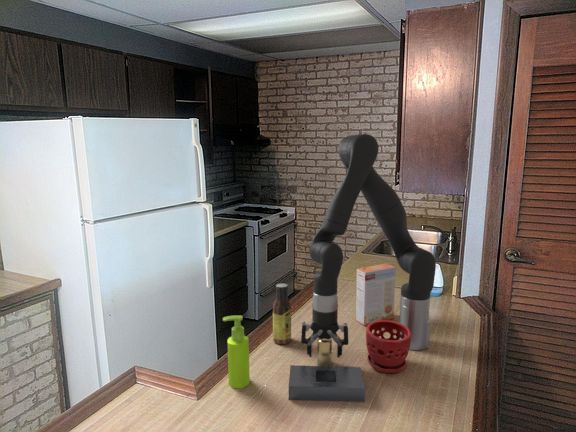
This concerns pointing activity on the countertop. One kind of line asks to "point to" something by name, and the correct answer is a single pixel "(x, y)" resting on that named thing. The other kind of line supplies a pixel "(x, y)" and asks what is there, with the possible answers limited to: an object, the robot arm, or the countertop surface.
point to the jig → (326, 383)
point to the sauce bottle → (281, 316)
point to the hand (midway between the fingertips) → (324, 355)
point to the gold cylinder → (324, 352)
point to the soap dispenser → (238, 354)
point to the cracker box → (375, 293)
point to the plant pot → (387, 346)
